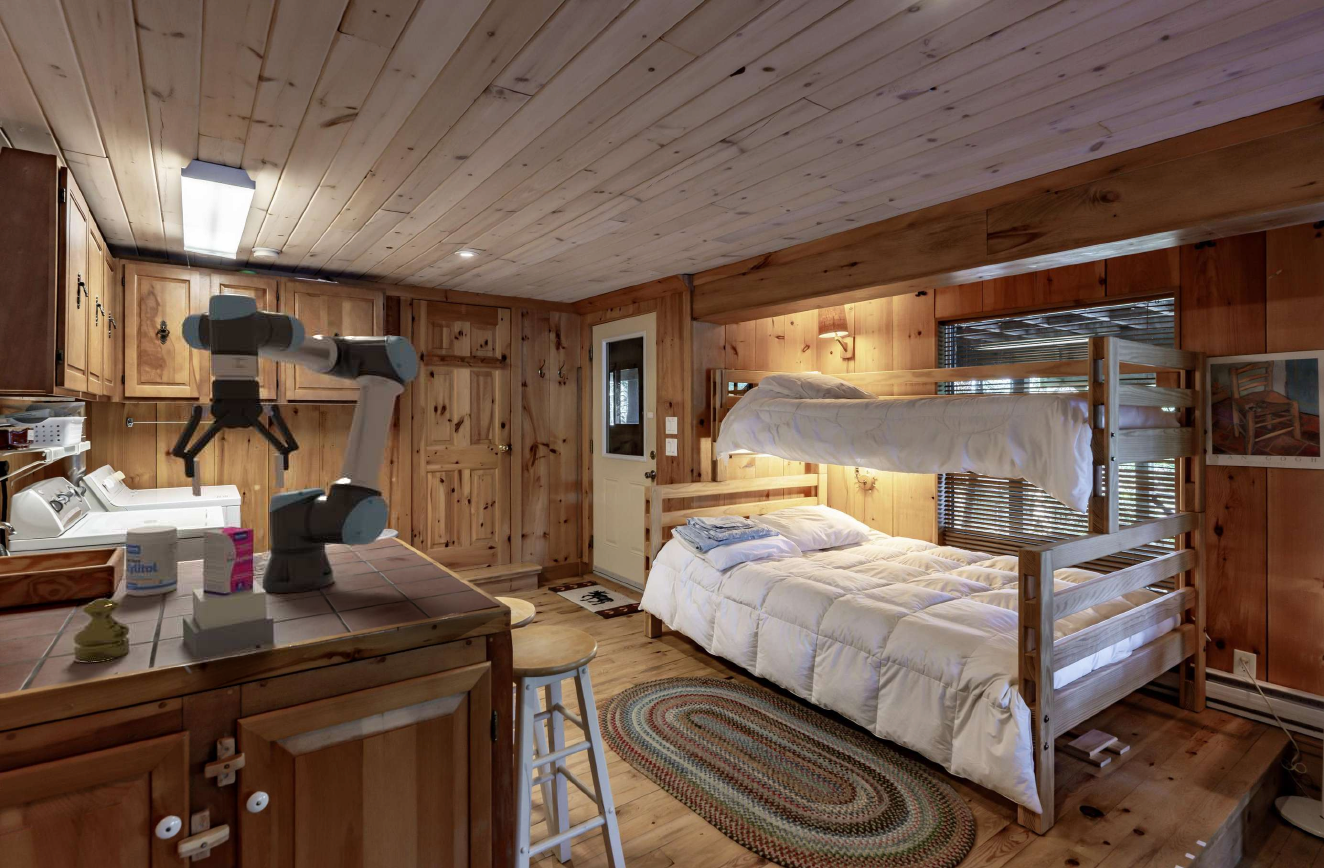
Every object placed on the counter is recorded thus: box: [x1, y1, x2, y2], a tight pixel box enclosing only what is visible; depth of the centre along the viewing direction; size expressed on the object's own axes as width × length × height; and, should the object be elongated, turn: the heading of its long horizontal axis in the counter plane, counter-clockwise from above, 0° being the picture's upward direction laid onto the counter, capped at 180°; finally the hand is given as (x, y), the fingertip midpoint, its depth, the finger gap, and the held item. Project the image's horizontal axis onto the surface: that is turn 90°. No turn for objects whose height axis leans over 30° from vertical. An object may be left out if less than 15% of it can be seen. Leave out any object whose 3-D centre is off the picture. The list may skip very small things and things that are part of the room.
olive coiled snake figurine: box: [73, 597, 130, 662], centre depth 115 cm, size 7×8×10 cm
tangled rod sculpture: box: [253, 549, 271, 573], centre depth 173 cm, size 19×14×4 cm
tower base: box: [182, 612, 275, 659], centre depth 123 cm, size 12×12×5 cm
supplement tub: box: [125, 525, 179, 597], centre depth 153 cm, size 10×10×15 cm
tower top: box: [192, 580, 268, 630], centre depth 123 cm, size 10×10×5 cm
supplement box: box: [202, 526, 254, 596], centre depth 122 cm, size 6×6×12 cm
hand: (239, 491), depth 125 cm, fingers open, 13 cm apart
